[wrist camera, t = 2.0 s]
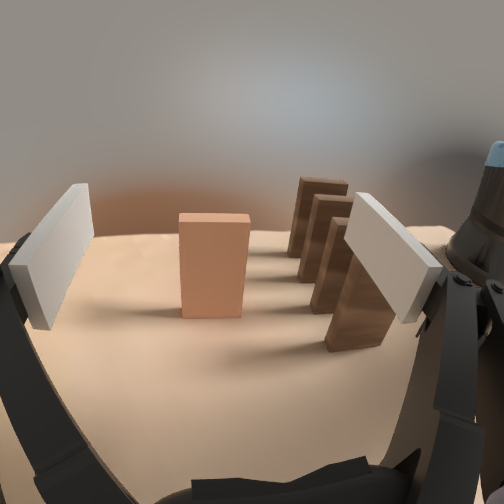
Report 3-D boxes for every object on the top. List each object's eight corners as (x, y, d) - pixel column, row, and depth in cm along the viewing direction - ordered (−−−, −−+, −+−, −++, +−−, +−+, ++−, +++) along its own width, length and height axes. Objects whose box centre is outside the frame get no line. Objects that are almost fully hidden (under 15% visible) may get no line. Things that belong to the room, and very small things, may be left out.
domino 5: (324, 340, 31) (355, 247, 25) (374, 334, 32) (411, 248, 26) (328, 352, 30) (363, 259, 24) (380, 345, 31) (420, 258, 25)
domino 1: (182, 307, 33) (179, 213, 27) (239, 307, 34) (248, 214, 28) (182, 318, 32) (178, 221, 26) (240, 317, 33) (250, 222, 27)
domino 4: (309, 304, 36) (332, 216, 30) (356, 301, 37) (384, 219, 31) (313, 314, 34) (338, 225, 28) (361, 310, 35) (391, 227, 29)
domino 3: (297, 275, 40) (314, 193, 34) (340, 274, 41) (361, 197, 35) (300, 283, 39) (318, 199, 33) (344, 281, 40) (367, 203, 34)
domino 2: (287, 251, 45) (300, 176, 39) (327, 251, 46) (343, 180, 40) (290, 257, 43) (303, 181, 37) (330, 257, 44) (348, 184, 38)
